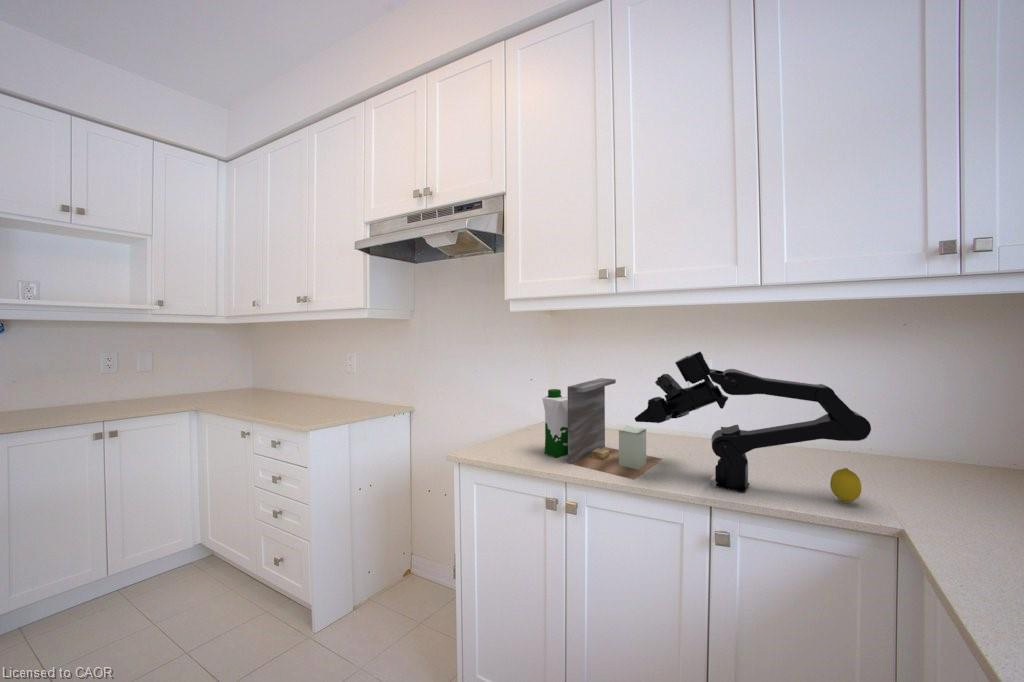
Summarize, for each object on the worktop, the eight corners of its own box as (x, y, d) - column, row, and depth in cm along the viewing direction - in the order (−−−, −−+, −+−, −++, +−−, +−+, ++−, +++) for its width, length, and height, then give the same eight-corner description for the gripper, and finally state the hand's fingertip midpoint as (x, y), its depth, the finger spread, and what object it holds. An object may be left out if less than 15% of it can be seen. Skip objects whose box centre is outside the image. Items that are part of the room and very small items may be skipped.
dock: (663, 462, 124) (663, 383, 123) (634, 483, 109) (634, 393, 108) (601, 449, 137) (601, 378, 136) (568, 466, 122) (567, 386, 120)
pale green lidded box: (646, 463, 120) (646, 429, 119) (637, 469, 116) (637, 433, 115) (627, 459, 124) (627, 426, 123) (618, 465, 119) (618, 430, 119)
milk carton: (558, 447, 139) (558, 387, 138) (580, 454, 132) (580, 390, 131) (540, 454, 133) (539, 391, 132) (561, 460, 127) (561, 394, 125)
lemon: (824, 500, 97) (825, 466, 97) (838, 496, 99) (839, 462, 99) (851, 510, 92) (852, 474, 92) (866, 505, 94) (867, 470, 94)
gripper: (692, 368, 119) (644, 389, 127) (668, 369, 104) (615, 392, 113) (711, 406, 115) (659, 425, 124) (688, 411, 101) (632, 433, 110)
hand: (642, 418), depth 118 cm, fingers open, 9 cm apart
